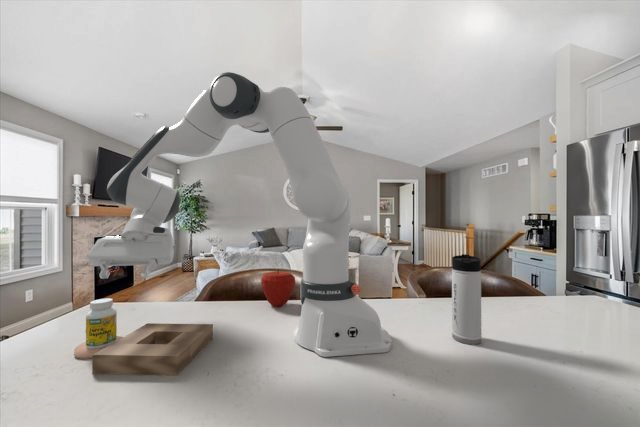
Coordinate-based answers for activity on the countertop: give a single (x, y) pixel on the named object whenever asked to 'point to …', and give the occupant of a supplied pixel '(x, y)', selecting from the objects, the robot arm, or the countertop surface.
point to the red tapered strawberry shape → (278, 287)
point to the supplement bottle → (101, 324)
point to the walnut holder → (153, 350)
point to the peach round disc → (87, 350)
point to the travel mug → (466, 299)
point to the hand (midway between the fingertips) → (124, 276)
